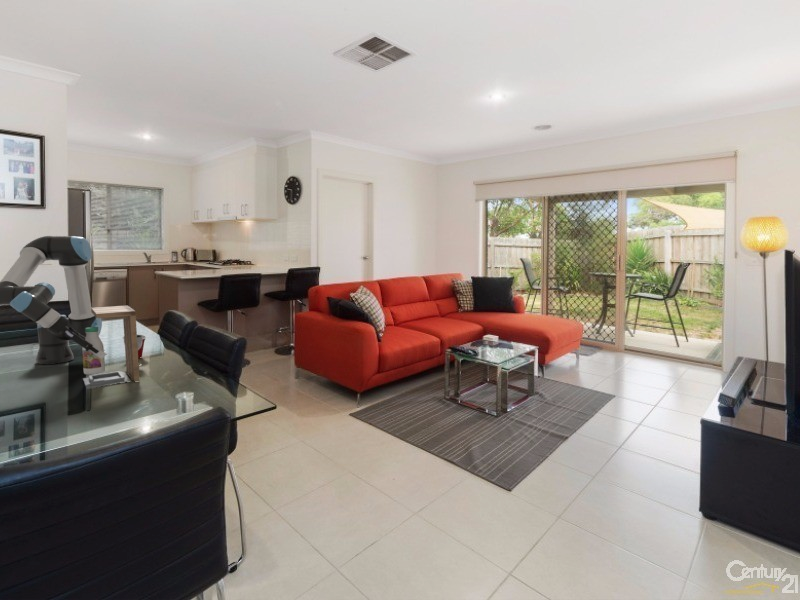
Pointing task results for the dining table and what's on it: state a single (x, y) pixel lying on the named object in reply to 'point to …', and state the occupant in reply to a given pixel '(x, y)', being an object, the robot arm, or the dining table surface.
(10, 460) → the dining table surface
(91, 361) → the milk bottle
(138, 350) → the plastic cup
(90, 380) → the grey square tray
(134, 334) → the overhang shelf
